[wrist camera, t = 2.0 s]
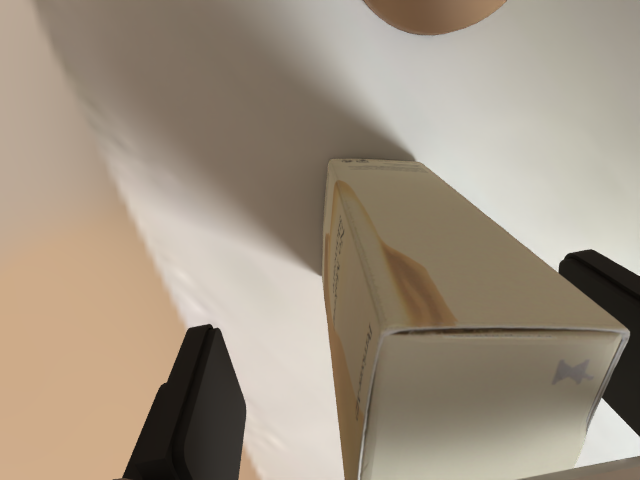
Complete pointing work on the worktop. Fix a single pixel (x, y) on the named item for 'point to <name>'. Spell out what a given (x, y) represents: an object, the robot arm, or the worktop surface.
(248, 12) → the worktop surface
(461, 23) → the wooden mushroom
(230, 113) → the worktop surface
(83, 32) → the worktop surface
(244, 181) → the worktop surface
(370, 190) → the skincare box
